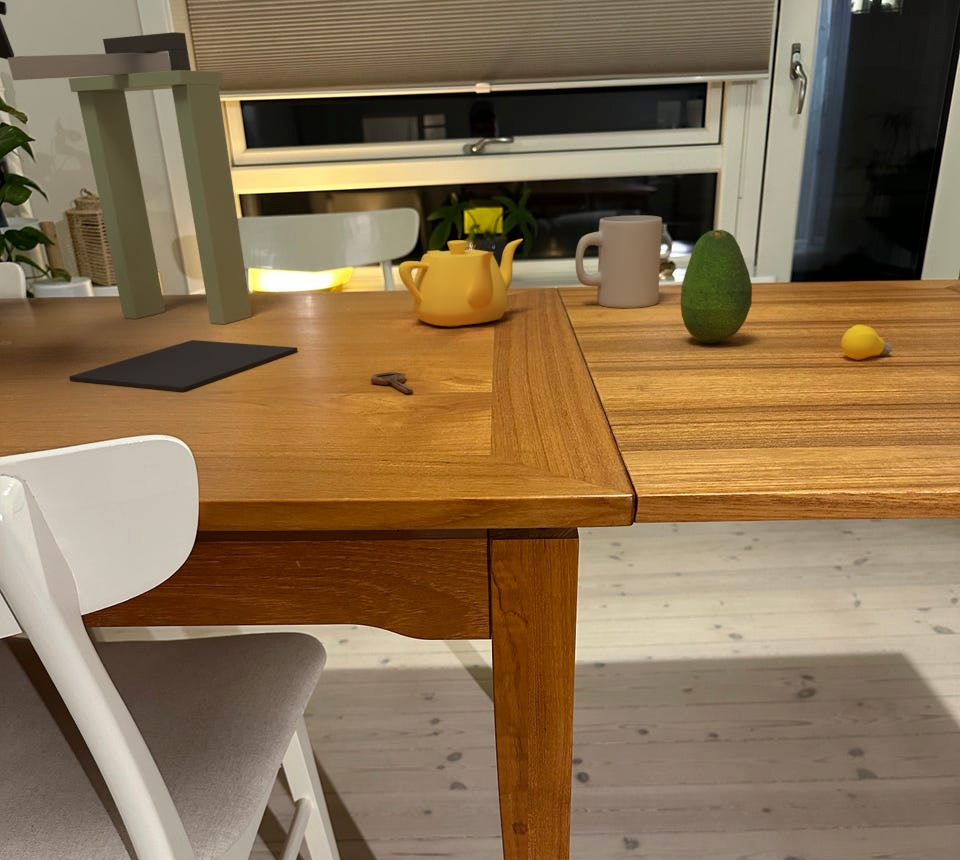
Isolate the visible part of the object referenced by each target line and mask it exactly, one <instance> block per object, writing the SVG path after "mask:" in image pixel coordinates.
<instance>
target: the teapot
mask: <svg viewBox="0 0 960 860" xmlns="http://www.w3.org/2000/svg"><path fill="white" fill-rule="evenodd" d="M523 240H524V239H523V238H519V239H516V240H512V241H510V242H508V243H507V244H506V246H505V247H504V249H503V251H502V256H501V262H500V265H499V264H498V262H497V260H496V258H495V256H494V251H486V250H480V249H466V248H467V244H468V241H466V240H461V239H458V240H449V241H447V243H446V244H447V247H448V249H449V250H444V251H443V250H442V251H441V250H438V249H436V250H435V249H434V250H427V251H426V253H424V254H423V255H422V257H421V259H420V261H418V260H416V261H415V260H407V261H403V262H401V263H400V264H399V266H398V275H399V278H400V279H401V281H402V284H403V285H404V287H405V288H406V289H407V291H408V292H409V293H410V294H411V296H412V297H411V299H412V300H411V305H412V309H413V311H414V313H415V314H416V317H418V319H419V320H420V321H421V322H424V323H427V324H429V325H433V326H441V327H448V328H449V327H450V328H451V327H452V328H455V327H460V326H464V325H465V326H467V325H473V324H474V325H476V324H482V323H483V324H485V323H490V322H493V321H497V320H500V319H502V318H503V316H504V314H505V311H506V310H507V308H508V303H509V302H508V293H507V292H508V290H509V288H510V287H511V285H512V280H513V265H514V264H513V259H514V255H515V251H516V249H517V247H518V246H519V245H520V244H521V243H522V241H523ZM415 269H417V271H416V273H415V277H414V278H413V274H412V271H414V270H415Z"/></svg>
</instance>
